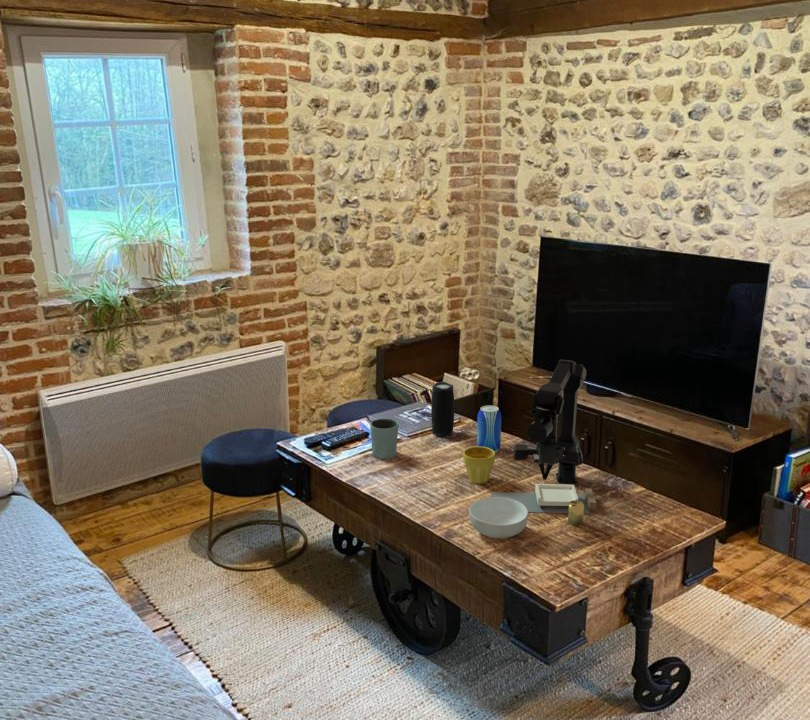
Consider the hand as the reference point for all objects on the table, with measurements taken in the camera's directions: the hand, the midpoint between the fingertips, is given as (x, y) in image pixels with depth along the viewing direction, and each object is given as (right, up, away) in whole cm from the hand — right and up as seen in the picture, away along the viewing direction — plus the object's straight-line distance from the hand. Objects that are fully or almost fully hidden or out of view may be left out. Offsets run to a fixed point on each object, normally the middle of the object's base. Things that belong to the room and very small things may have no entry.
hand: (544, 479), depth 240 cm
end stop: (+15, -9, +8) cm, 19 cm away
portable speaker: (-28, +8, +64) cm, 70 cm away
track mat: (0, -9, +9) cm, 12 cm away
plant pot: (-17, -4, +25) cm, 31 cm away
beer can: (-12, +3, +49) cm, 50 cm away
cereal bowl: (-15, -14, -8) cm, 22 cm away
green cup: (-49, +2, +46) cm, 67 cm away
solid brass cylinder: (+8, -12, -3) cm, 15 cm away
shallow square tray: (+5, -9, +8) cm, 13 cm away
